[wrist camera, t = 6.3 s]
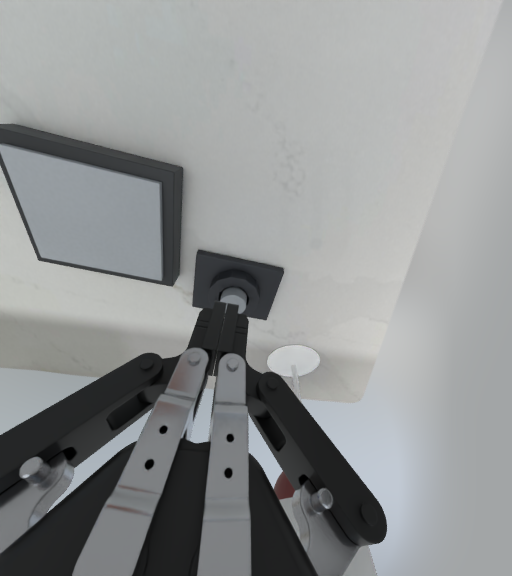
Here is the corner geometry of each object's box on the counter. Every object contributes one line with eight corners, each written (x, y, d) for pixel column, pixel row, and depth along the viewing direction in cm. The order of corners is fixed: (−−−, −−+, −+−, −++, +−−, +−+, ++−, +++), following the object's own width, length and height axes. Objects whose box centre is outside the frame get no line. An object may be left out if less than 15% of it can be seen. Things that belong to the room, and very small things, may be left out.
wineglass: (334, 352, 35) (412, 603, 17) (301, 383, 41) (332, 598, 23) (283, 335, 33) (309, 600, 15) (255, 370, 39) (248, 595, 20)
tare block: (283, 268, 26) (285, 280, 24) (266, 315, 31) (266, 329, 29) (198, 249, 25) (192, 260, 23) (193, 302, 30) (188, 315, 28)
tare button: (249, 289, 26) (248, 298, 24) (244, 308, 27) (243, 317, 26) (223, 284, 25) (221, 292, 24) (219, 303, 27) (217, 312, 26)
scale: (183, 167, 20) (172, 173, 18) (179, 274, 27) (171, 290, 25) (13, 123, 19) (-26, 123, 16) (55, 249, 26) (33, 263, 23)
